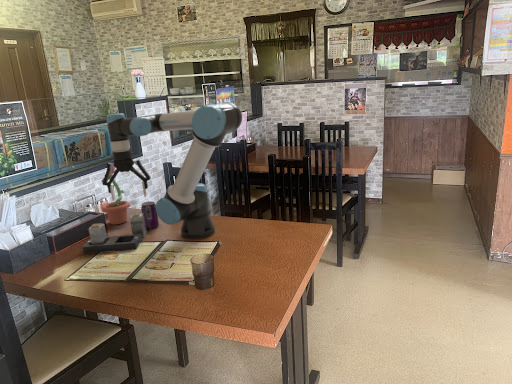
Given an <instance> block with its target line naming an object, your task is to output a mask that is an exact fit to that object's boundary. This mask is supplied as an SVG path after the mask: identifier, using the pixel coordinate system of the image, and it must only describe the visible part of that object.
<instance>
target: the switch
mask: <svg viewBox="0 0 512 384" xmlns="http://www.w3.org/2000/svg"><path fill="white" fill-rule="evenodd" d="M88 233H89V239H88V240H87V241H86V242H85V243H84V245H83V246H81V247H82V248H81V249H82V254H85V255H86V254H98V253H106V252H107V253H108V252H109V253H110V252H119V251H132V249H133V250H137V249H138V248H139V246H140V244H141V243H142V239H143V238H141V234H134V235H133V234H126V235H123V234H122V235H113V236H107V231H106V225H105V223H102V222H101V223H93V224H91V226H90V227H89V228H88ZM139 243H140V244H139ZM138 245H139V246H138Z"/></svg>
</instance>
